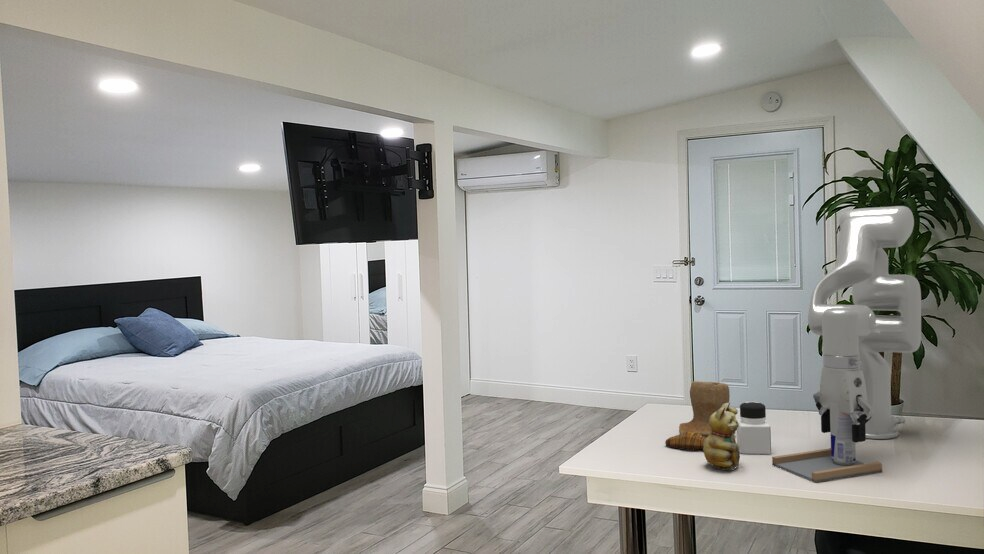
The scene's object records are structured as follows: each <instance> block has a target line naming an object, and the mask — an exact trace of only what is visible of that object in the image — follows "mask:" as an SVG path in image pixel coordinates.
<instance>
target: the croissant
mask: <svg viewBox="0 0 984 554" xmlns="http://www.w3.org/2000/svg"><path fill="white" fill-rule="evenodd" d="M706 438H707V437H704V436H702V435H700V434H699V433H696V432H694V431H688V432H685V433H683V434H681V435H680V434H677V435H676V434H675V435H674V436H671V437H669V438H667V439H665V442H664V443H665V447H669V448H673V449H678V450H686V451H701V452H702V451H703V448H704V443H705V440H706ZM703 452H704V451H703Z"/></svg>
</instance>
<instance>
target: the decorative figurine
mask: <svg viewBox="0 0 984 554" xmlns="http://www.w3.org/2000/svg"><path fill="white" fill-rule="evenodd" d="M730 405H731V403H730V402H729V403H725V404H723V405H722V407H721V408H720V409H719V410H717V412H714V413H713V414H712V415H711V416H710V419H709V425H710V427H711V429H712V430H711V431H710V435H709V436H708V437H707V438H706V440H705V443H704V448H703V455H704V458H705V460H706V462H707V463H709V464H710V465H711V468H712V469H718V470H722V469H723V470H724V471H729V470H732V471H733V469H734V470H735V469H736V468H737V467H738V466H739V465H738V464H739V463H740V458H741V452H740V450H739V445H738V444H737V440H736V438H735V437H734V435H733V433H734V432H735V433H736V432H737V428H738V425H739V424H738V422H737V418H736V415H737V414H738V411H739V410H738V409H737V408H736V407H734V406H730ZM737 465H738V466H737ZM736 466H737V467H736ZM735 467H736V468H735ZM723 470H722V471H723Z"/></svg>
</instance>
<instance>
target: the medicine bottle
mask: <svg viewBox="0 0 984 554" xmlns="http://www.w3.org/2000/svg"><path fill="white" fill-rule="evenodd" d="M766 416H767V413H766V405H765V404H763V403H761V402H758V401H745V402H743V403H741V404H739V418H738V419H737V418H736V420H737V422H738V424H739V425H738V428H737V430H736V443H737V444H738V445H739V451H740V455H771V454H772V441H771V440H772V438H771V437H772V435H771V425H770V424H769V423H768V421H767V417H766Z"/></svg>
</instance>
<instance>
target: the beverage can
mask: <svg viewBox="0 0 984 554" xmlns="http://www.w3.org/2000/svg"><path fill="white" fill-rule="evenodd" d="M831 401H833V400H831ZM835 402H836V401H833V402H831V403H830V431H831V432H830V448H831V459H832V460H833V461H834V462H835V463H836V464H839V465H852V464H853V463H854V462H855V461H857V456H856V455H857V453H856V451H857V450H856V443H855V442H853V441H852V424H854V422H853V420H852V418H851V417H850V415H849V414H845V413H842V412H840V410H839V407H838V405H837V404H836V403H835ZM854 411H855V410H854Z"/></svg>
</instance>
